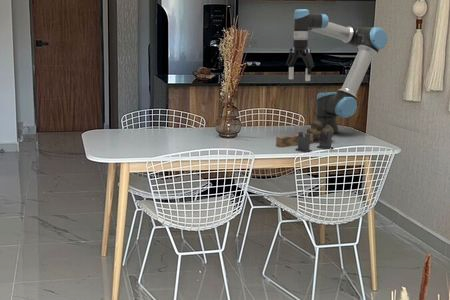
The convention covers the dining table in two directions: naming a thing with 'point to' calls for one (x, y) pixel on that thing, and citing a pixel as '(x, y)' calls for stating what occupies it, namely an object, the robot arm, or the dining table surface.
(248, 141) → the dining table surface
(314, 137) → the decorative stone
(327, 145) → the standards
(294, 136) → the rail
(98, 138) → the dining table surface
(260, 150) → the dining table surface
